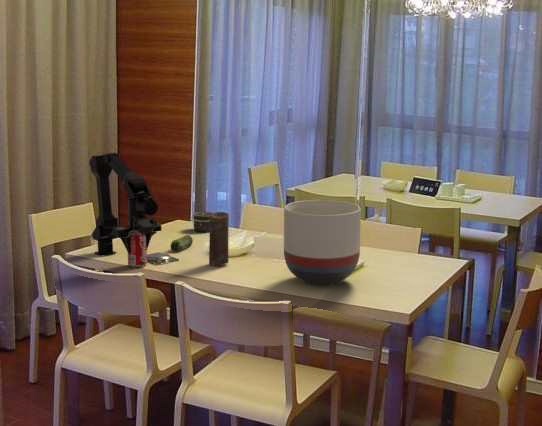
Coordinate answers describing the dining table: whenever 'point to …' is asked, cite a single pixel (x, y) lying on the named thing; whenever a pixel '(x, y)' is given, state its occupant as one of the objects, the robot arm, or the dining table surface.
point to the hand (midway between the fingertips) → (137, 251)
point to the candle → (218, 238)
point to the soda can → (137, 250)
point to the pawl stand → (160, 258)
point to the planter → (322, 240)
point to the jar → (202, 222)
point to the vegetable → (181, 243)
